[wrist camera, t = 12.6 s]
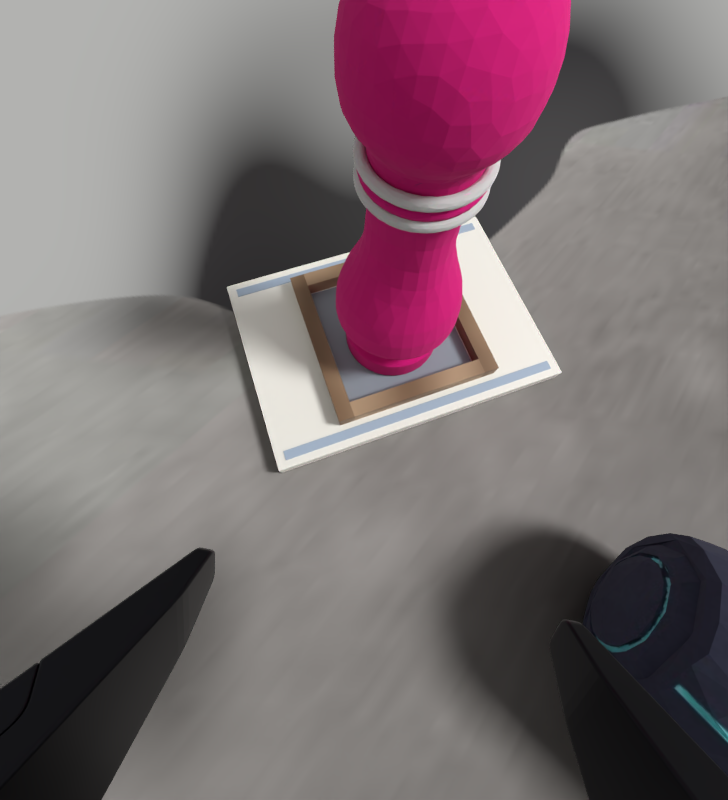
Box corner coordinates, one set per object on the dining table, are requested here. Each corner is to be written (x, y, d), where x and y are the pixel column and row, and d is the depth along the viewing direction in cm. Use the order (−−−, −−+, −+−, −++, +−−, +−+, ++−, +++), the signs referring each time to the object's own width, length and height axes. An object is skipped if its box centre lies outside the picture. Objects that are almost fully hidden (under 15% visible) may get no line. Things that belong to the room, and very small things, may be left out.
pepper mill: (359, 278, 26) (368, -360, 7) (454, 308, 25) (749, -298, 6) (323, 363, 24) (192, -207, 5) (425, 398, 23) (730, -95, 4)
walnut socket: (430, 246, 27) (433, 236, 26) (493, 373, 24) (498, 367, 23) (292, 286, 26) (289, 278, 25) (340, 425, 23) (339, 421, 22)
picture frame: (471, 226, 29) (476, 215, 28) (554, 377, 25) (562, 372, 24) (231, 294, 27) (226, 286, 26) (282, 472, 23) (278, 471, 22)
